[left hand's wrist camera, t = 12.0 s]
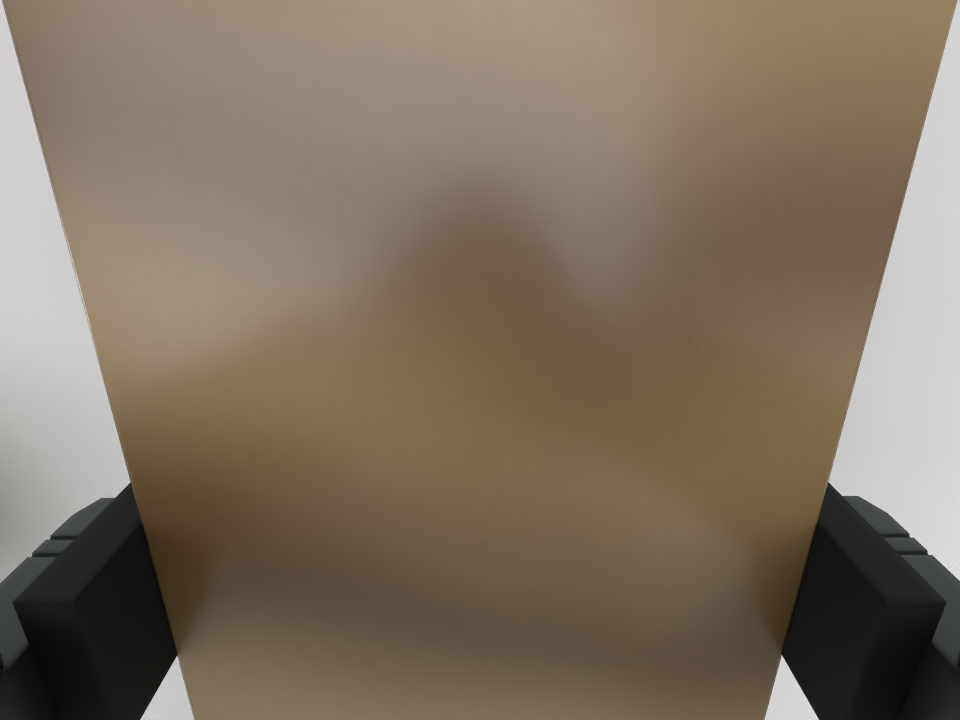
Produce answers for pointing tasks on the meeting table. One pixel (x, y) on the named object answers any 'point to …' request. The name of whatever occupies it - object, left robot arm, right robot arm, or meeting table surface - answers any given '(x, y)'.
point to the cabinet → (479, 329)
